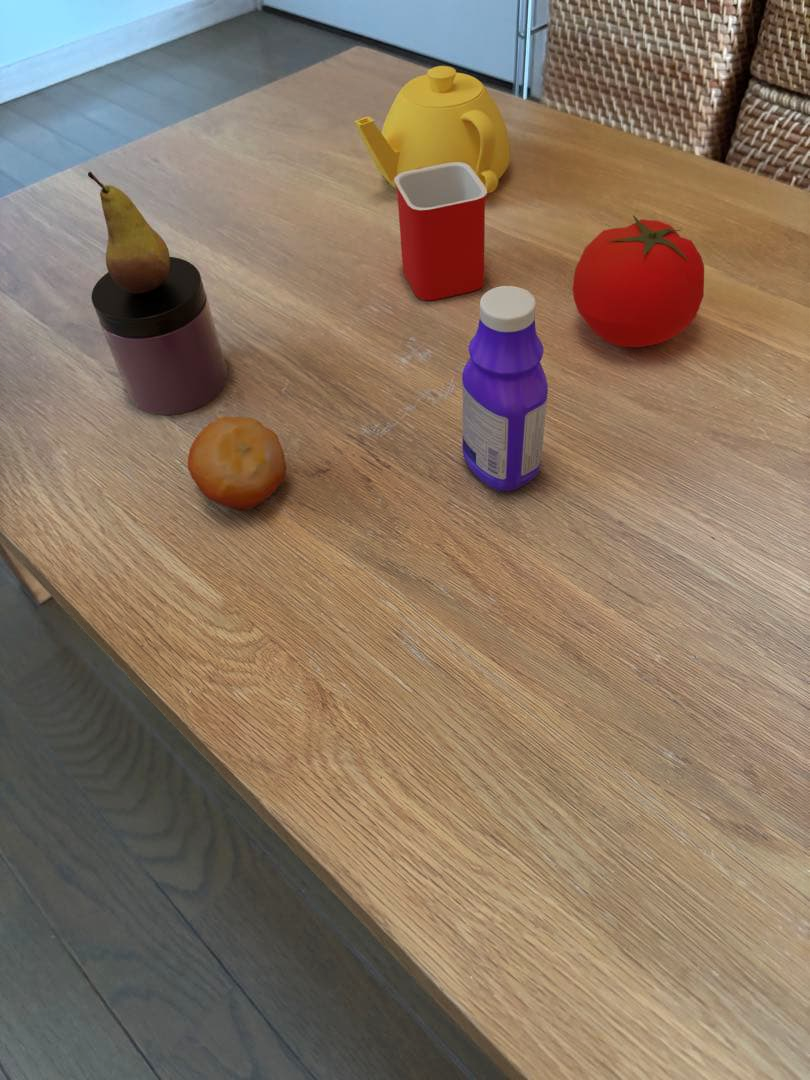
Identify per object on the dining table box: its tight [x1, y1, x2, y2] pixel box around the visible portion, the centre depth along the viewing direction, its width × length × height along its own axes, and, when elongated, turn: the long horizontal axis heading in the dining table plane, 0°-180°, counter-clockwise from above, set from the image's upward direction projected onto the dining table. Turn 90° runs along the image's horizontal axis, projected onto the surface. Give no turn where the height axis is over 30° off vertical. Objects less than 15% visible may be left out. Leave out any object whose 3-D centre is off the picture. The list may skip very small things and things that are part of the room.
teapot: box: [354, 65, 511, 194], centre depth 104 cm, size 20×19×13 cm
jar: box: [98, 292, 229, 416], centre depth 83 cm, size 10×10×10 cm
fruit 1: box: [87, 171, 171, 294], centre depth 74 cm, size 6×6×12 cm
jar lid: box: [90, 256, 206, 337], centre depth 79 cm, size 10×10×2 cm
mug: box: [394, 162, 488, 302], centre depth 93 cm, size 12×8×11 cm
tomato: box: [572, 214, 705, 348], centre depth 84 cm, size 13×12×11 cm
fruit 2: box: [187, 416, 287, 512], centre depth 74 cm, size 8×8×8 cm
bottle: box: [461, 285, 549, 493], centre depth 69 cm, size 7×6×17 cm
